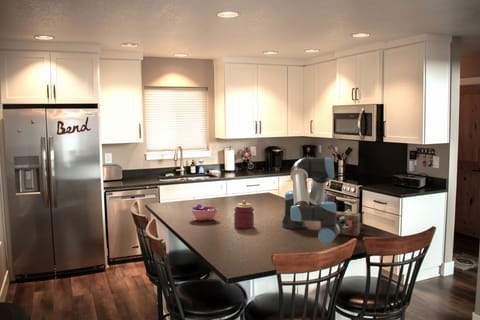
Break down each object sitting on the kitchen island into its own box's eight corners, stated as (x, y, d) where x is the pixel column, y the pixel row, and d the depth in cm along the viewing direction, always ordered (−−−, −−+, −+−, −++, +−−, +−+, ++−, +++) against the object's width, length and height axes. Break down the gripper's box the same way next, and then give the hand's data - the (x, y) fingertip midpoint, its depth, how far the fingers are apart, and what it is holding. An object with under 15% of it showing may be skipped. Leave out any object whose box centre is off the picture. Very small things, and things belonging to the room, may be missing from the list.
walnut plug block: (324, 232, 269) (324, 213, 268) (327, 229, 276) (328, 210, 275) (357, 235, 260) (357, 216, 259) (359, 232, 267) (360, 213, 266)
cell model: (215, 223, 291) (215, 207, 290) (186, 222, 295) (186, 205, 294) (221, 218, 307) (221, 202, 306) (194, 217, 311) (194, 201, 310)
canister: (236, 230, 273) (236, 202, 272) (231, 225, 286) (231, 199, 284) (256, 229, 277) (256, 201, 275) (250, 224, 289) (250, 198, 288)
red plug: (343, 229, 259) (343, 220, 258) (347, 224, 270) (347, 216, 270) (351, 230, 257) (352, 221, 256) (356, 225, 268) (356, 217, 267)
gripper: (320, 234, 226) (331, 223, 247) (345, 237, 220) (354, 226, 241) (320, 220, 225) (331, 210, 246) (345, 223, 219) (355, 213, 240)
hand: (343, 218), depth 244 cm, fingers closed
